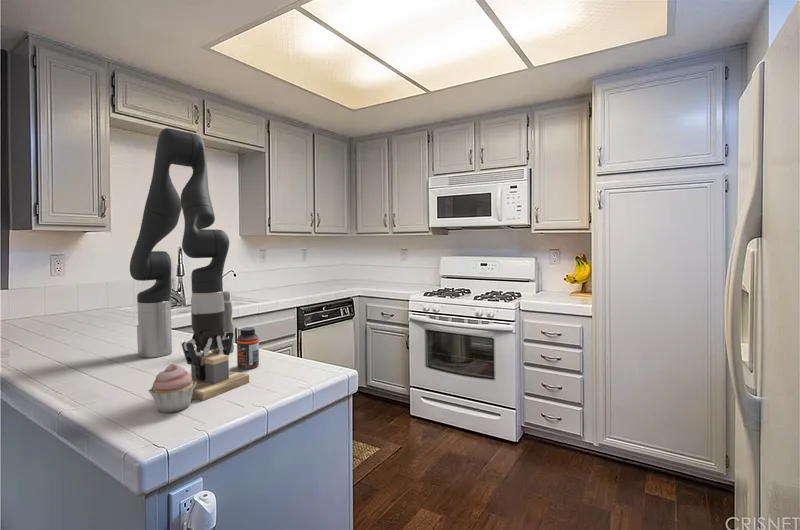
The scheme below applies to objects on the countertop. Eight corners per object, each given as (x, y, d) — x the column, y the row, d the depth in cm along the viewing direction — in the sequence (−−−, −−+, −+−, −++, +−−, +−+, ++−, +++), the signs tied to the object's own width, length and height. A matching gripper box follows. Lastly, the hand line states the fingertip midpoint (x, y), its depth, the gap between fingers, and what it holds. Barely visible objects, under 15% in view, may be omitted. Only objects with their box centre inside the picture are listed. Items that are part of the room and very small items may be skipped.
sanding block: (191, 379, 106) (190, 356, 106) (206, 374, 110) (206, 351, 110) (214, 384, 103) (213, 359, 102) (229, 378, 107) (228, 355, 106)
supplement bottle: (232, 367, 122) (231, 329, 122) (248, 362, 128) (248, 325, 127) (247, 370, 120) (246, 331, 119) (263, 365, 125) (262, 327, 124)
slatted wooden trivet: (160, 390, 104) (160, 382, 104) (208, 374, 117) (208, 367, 116) (203, 400, 97) (203, 392, 97) (249, 382, 110) (249, 374, 110)
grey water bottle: (232, 349, 143) (230, 290, 142) (235, 352, 139) (233, 291, 138) (216, 351, 141) (215, 291, 139) (219, 354, 137) (217, 292, 135)
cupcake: (140, 417, 89) (138, 370, 88) (162, 400, 98) (161, 357, 97) (186, 416, 89) (184, 369, 88) (204, 399, 98) (203, 357, 98)
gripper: (220, 304, 113) (222, 367, 114) (171, 313, 101) (173, 383, 102) (241, 306, 110) (242, 371, 111) (193, 315, 97) (195, 388, 98)
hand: (209, 376), depth 106 cm, fingers closed on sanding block, 4 cm apart
